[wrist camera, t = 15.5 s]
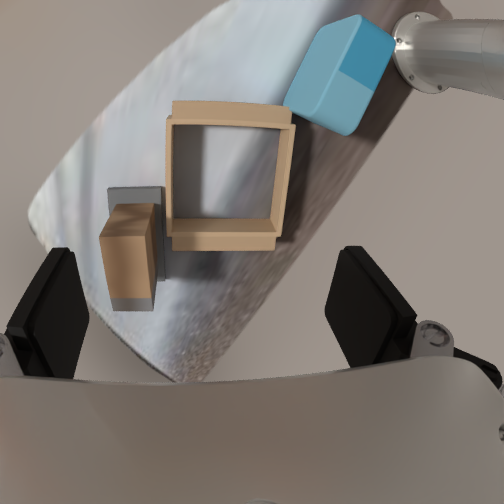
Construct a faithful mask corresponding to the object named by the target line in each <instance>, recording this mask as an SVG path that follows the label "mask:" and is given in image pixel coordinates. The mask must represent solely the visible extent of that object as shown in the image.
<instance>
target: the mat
mask: <svg viewBox="0 0 504 504" xmlns="http://www.w3.org/2000/svg"><path fill="white" fill-rule="evenodd" d="M107 193H108V204H109V214H110V215H111V213H112V211H113V209H114V208H115V206H116V204H130V203H154V211H155V229H156V244H157V257H158V269H159V270H158V277H157V281H165V264H164V247H163V226H162V194H161V186H151V187H113V188H108V189H107Z"/></svg>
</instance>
